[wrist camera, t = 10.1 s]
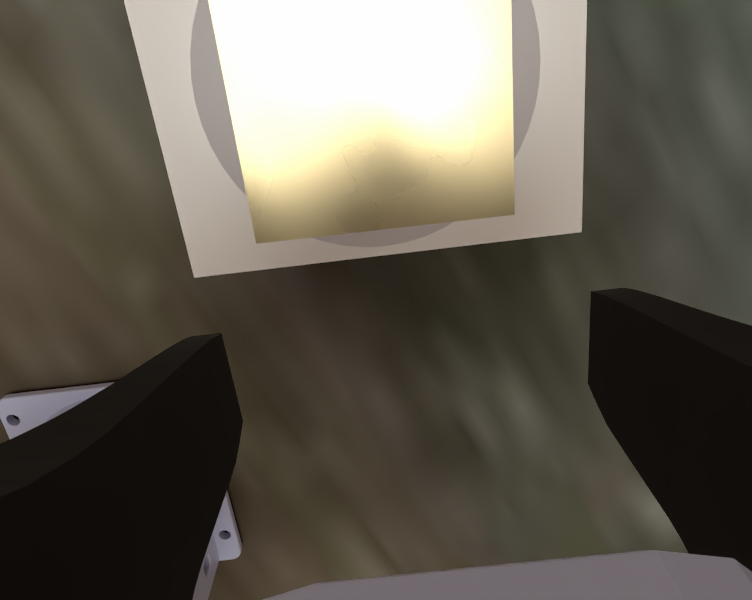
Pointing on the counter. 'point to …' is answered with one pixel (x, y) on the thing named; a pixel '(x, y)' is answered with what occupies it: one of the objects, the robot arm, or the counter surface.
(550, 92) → the kitchen scale
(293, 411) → the counter surface
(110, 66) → the counter surface
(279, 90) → the block
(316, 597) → the robot arm
